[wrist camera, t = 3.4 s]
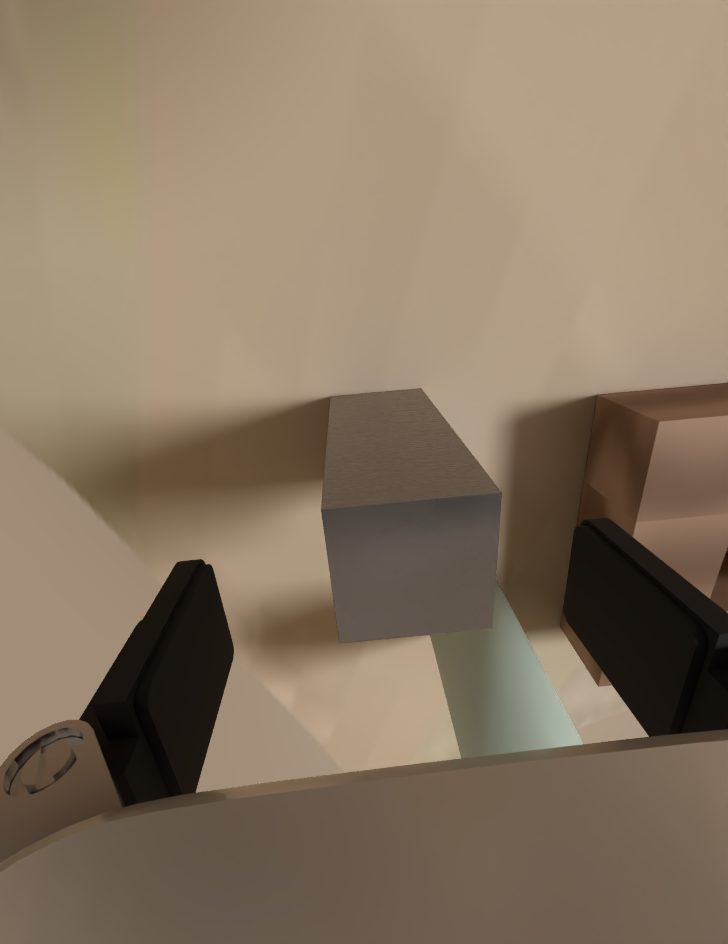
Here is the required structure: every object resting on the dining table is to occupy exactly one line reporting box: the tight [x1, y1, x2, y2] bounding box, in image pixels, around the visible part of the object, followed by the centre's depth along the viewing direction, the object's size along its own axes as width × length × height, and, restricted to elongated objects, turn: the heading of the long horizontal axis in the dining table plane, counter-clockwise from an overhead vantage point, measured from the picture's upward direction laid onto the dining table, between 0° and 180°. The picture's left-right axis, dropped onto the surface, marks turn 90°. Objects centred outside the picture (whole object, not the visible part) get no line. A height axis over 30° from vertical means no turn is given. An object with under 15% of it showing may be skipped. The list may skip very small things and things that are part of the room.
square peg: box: [321, 388, 502, 643], centre depth 15 cm, size 4×4×10 cm
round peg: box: [430, 580, 583, 758], centre depth 19 cm, size 4×4×10 cm
